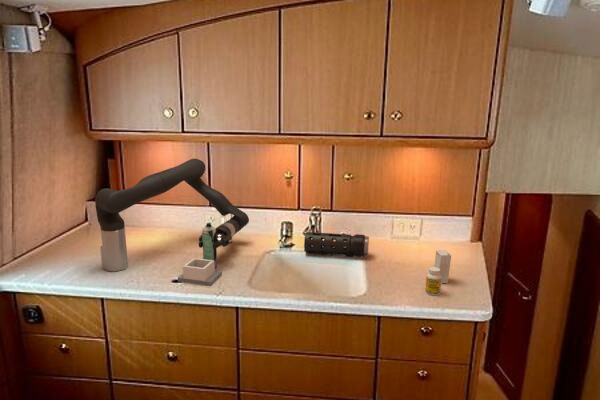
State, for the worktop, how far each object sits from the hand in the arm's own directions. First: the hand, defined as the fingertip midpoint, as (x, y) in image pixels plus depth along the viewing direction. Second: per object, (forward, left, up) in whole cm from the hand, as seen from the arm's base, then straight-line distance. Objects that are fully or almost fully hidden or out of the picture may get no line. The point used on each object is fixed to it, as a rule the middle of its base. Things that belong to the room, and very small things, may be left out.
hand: (206, 246), depth 199 cm
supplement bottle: (+89, +6, -11) cm, 90 cm away
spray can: (0, +3, -11) cm, 11 cm away
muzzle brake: (+47, +33, -11) cm, 59 cm away
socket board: (0, -7, -11) cm, 13 cm away
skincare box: (+92, +18, -11) cm, 94 cm away
